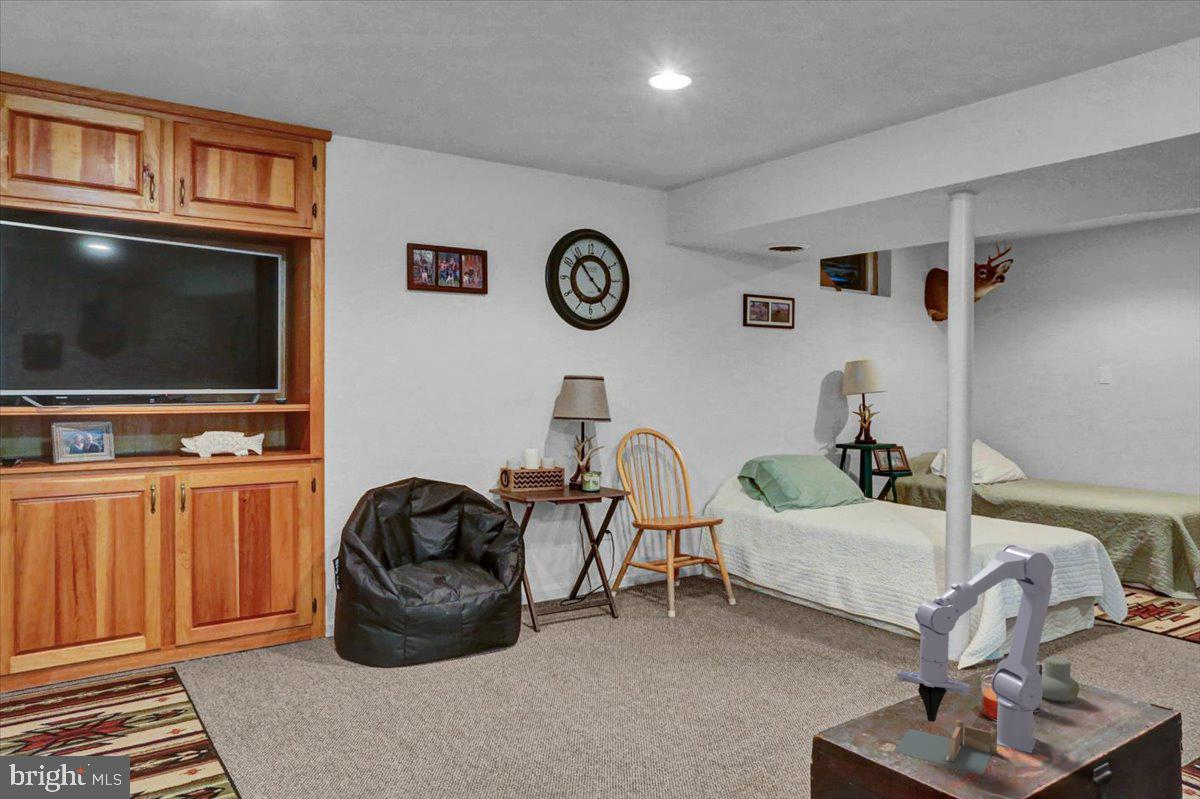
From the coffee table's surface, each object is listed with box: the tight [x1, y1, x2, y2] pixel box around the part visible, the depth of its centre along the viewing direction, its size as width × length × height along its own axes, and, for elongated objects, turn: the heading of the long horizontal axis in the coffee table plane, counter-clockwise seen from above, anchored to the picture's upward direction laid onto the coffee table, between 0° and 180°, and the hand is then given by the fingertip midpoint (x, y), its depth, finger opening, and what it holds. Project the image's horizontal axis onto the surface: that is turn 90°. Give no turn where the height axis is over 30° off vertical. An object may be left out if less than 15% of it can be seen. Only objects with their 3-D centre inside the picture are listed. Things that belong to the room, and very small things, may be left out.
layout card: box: [892, 728, 993, 776], centre depth 185 cm, size 15×18×1 cm
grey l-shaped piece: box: [1041, 656, 1080, 703], centre depth 219 cm, size 11×8×10 cm
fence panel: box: [948, 727, 961, 761], centre depth 183 cm, size 10×1×4 cm, turn 149°
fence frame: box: [954, 719, 998, 755], centre depth 186 cm, size 2×8×5 cm, turn 57°
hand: (931, 719), depth 185 cm, fingers closed
